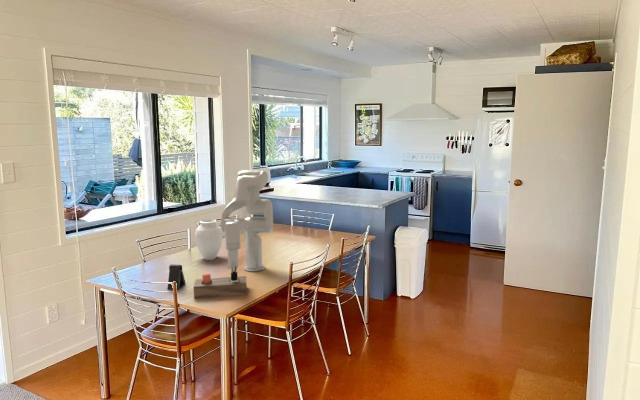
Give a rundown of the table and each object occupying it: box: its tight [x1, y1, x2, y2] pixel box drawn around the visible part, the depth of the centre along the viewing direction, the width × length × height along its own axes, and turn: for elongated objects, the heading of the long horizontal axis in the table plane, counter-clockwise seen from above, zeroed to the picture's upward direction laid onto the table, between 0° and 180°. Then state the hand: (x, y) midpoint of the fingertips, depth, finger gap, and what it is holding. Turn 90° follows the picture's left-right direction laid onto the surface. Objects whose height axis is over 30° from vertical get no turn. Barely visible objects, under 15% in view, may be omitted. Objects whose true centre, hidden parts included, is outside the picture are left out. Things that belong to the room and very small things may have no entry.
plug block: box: [193, 275, 248, 299], centre depth 239 cm, size 12×26×6 cm, turn 99°
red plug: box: [202, 273, 212, 284], centre depth 237 cm, size 4×4×6 cm
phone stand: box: [167, 264, 186, 290], centre depth 248 cm, size 9×6×12 cm, turn 170°
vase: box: [194, 218, 224, 261], centre depth 300 cm, size 18×18×25 cm
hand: (234, 280), depth 240 cm, fingers closed
